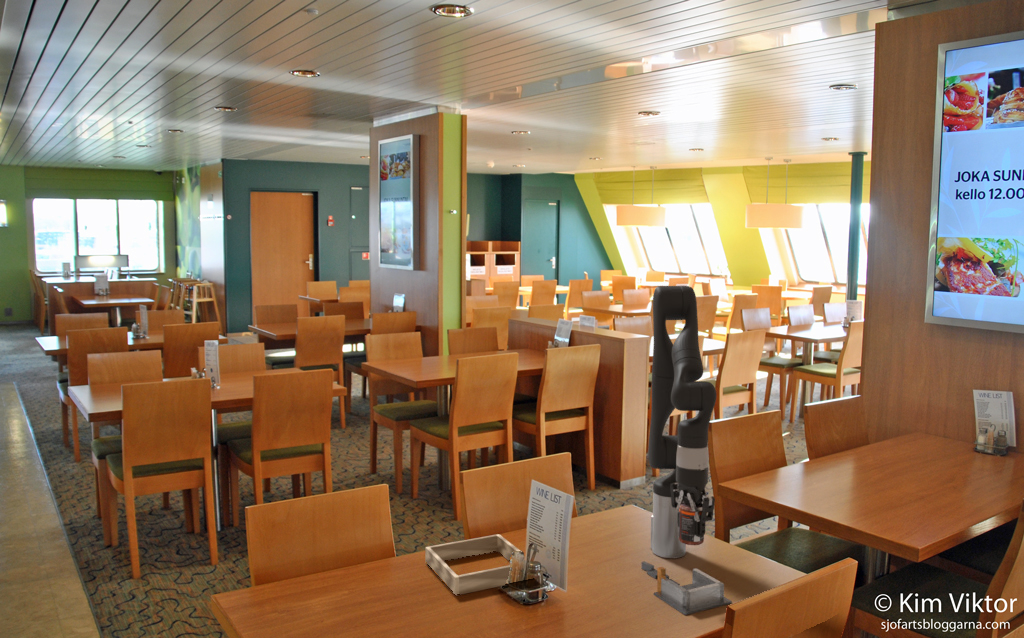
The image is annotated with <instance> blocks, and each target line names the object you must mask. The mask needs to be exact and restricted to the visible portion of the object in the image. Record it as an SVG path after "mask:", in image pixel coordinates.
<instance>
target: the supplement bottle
mask: <svg viewBox="0 0 1024 638" xmlns="http://www.w3.org/2000/svg"><path fill="white" fill-rule="evenodd" d="M683 501H684V503H682V504H681V505H680V508H679V540H680V542H682V543H683V544H686V545H687V546H700V545H702V544H703V543H704V542H705V541H704V540H705V535H704V536H701V537H697V536H696V535H695V531H696V517H695V513H694V512H692V509H691V505H690V501H689V500H688V497H687V496H684V500H683ZM696 507H697V508H701V505H699V506H696ZM699 514H700V516H701V515H702V511H699Z"/></svg>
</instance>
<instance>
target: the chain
mask: <svg viewBox="0 0 1024 638" xmlns="http://www.w3.org/2000/svg"><path fill="white" fill-rule="evenodd" d="M641 569H642V570H643V571H645V572H647V575H648V576H650V577H652V578H653V579H655V580H657V570H658V569H655V565H654V564H652V563H650V562H647V561H645V560H644V561H641ZM666 578H668V579H670V580H671V581H673V582H674V583H676V584H678V585H679V586H681V584H680V583H679V582H677V581H675V580H674V579H672V578H670V576H669V575H668V574H666Z"/></svg>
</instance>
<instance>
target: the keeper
mask: <svg viewBox="0 0 1024 638" xmlns="http://www.w3.org/2000/svg"><path fill="white" fill-rule="evenodd" d="M656 570H657V579H656V580H657V583H656V584H657V585H656V586H657V587H656V589H657V591H654V592H653V596H655V597H656V598H658V599H659V600H661V601H663V602H664V603H665V604H667V605H669V607H672V608H673V609H675V610H677V611H678V612H679V613H681V614H683V615H684V616H687V615H688V616H689V615H691V614H695V613H698V612H702V611H703V612H704V611H706V610H710V609H714V608H719V607H722V606H726V605H730V604H732V603H733V602H732V600H730V599H729V598H727V597H725V583H723V582H722V581H720V580H718V579H716V578H715V577H713V576H710V575H709V574H708V573H705V572H704V571H702V570H700V569H698V568H697V567H695V568H692V582H691V583H689V584H685V585H680V586H679V585H678V584H676V583H674V582H673V581H671V580H670V579H671V578H669V579H668V578H666V575H667V571H666V570H667V569H666V568H665V567H663V566H659V567H657V569H656Z"/></svg>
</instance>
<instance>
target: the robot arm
mask: <svg viewBox="0 0 1024 638" xmlns="http://www.w3.org/2000/svg"><path fill="white" fill-rule="evenodd" d="M652 296H653V297H652V322H653V323H652V324H653V327H652V328H653V330H652V331H653V350H652V351H653V352H652V364H651V365H652V368H651V413H650V415H651V416H650V426H649V427H650V428H649V435H648V436H649V437H648V449H647V457H648V462H649V463H648V464H649V466H650V468H653V469H656V470H672V471H671V472H670V473H669V474H666V475H665V476H662V477H659V478H657V479H656V480H655V481H653V484H652V487H653V488H652V515H651V516H650V549H651V550H652V553H653V554H654V555H656V556H658V557H661V558H666V559H677V558H682V557H685V555H686V554H687V552H686V550H687V546H686V545H687V544H683V543H682V542H680V540H679V508H680V505H681V504H682V503H684V501H683V500H684V496H687V497H688V500H689V501H690V505H691V509H692V512H694V513H695V517H696V531H695V535H696V536H697V537H701V536H704V537H705V535H706V522H710V521H713V517H714V510H715V503H716V501H715V500H716V499H715V497H714V496H709V495H708V494H707V492H706V486H707V484H709V458H710V456H709V449H708V445H709V443H708V442H709V427H710V421H711V418H712V414H713V411H714V409H715V405H716V402H717V395H718V394H717V389H716V387H715V386H714V384H712V382H710V381H701V379H702V377H703V375H704V365H703V361H702V357H701V351H700V345H699V344H700V343H699V342H700V341H699V321H698V319H699V318H698V305H697V304H698V303H697V301H698V300H697V296H696V292H695V290H694V288H692V287H691V286H689V285H657V286H656V287H655V289H654V291H653V295H652ZM667 321H684V326H683V328H682V329H681V331H680V333H679V334H678V336H677V337H676V339H675V341H674V342H672V339H671V337H670V335H669V332H668V329H667V324H666V323H667ZM674 410H677V411H680V412H682V411H684V412H693V411H694V412H696V411H697V412H698V413H697V414H696V415H695V416H694V417H691V418H687V419H683V420H681V421H679V422H678V425H677V435H672V434H671V435H663V433H664V431H665V430H664V429H665V426H666V424H667V421H668V420H669V418H670V416H671V414H672V413H673V412H674ZM699 505H701V508H697V507H696V506H699ZM699 511H702V515H701V516H700V514H699Z"/></svg>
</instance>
